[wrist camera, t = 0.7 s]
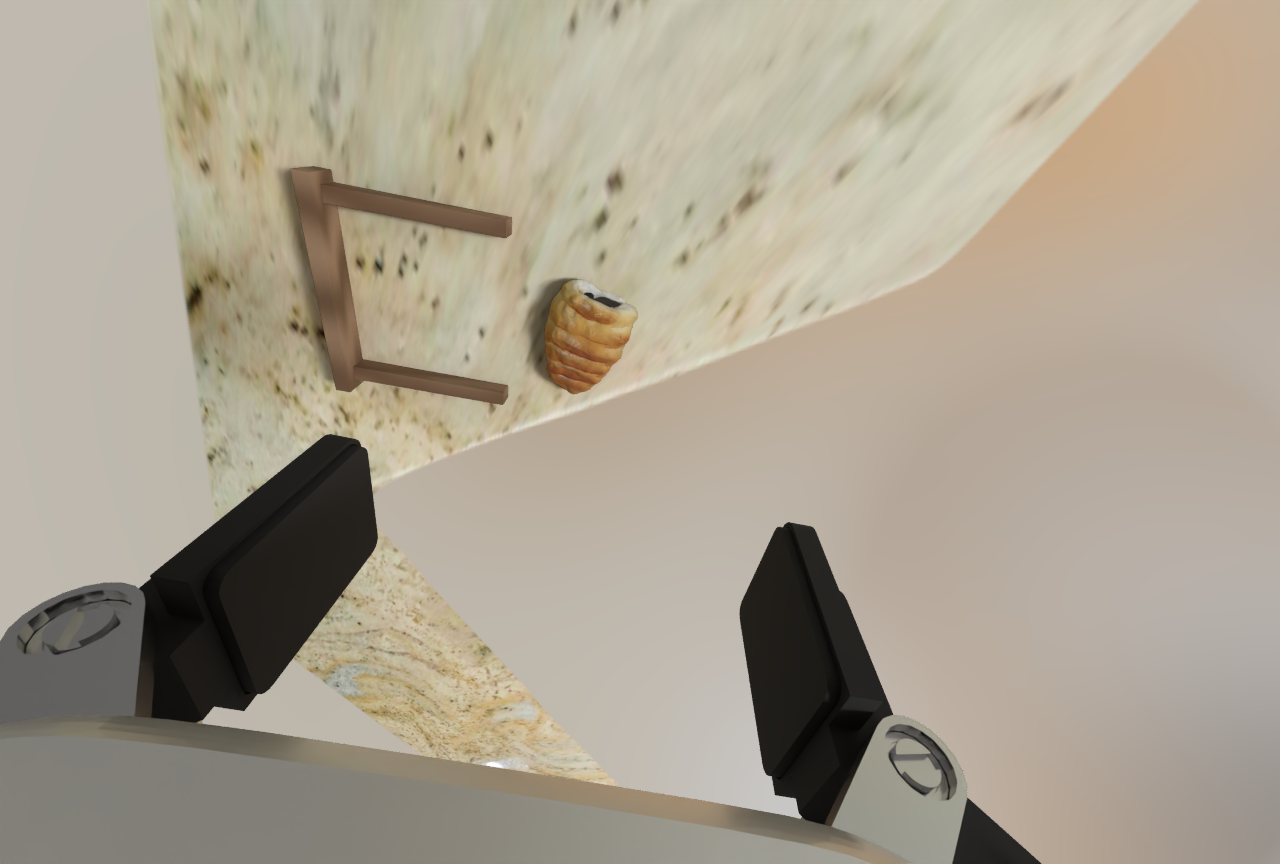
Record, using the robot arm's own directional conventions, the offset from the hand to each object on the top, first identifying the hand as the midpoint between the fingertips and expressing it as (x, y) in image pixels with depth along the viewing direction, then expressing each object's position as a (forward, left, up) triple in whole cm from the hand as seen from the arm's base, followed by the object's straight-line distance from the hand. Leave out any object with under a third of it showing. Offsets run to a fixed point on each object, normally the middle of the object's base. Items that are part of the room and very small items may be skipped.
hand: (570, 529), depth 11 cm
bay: (+7, -16, -29) cm, 34 cm away
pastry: (+7, -3, -30) cm, 31 cm away
